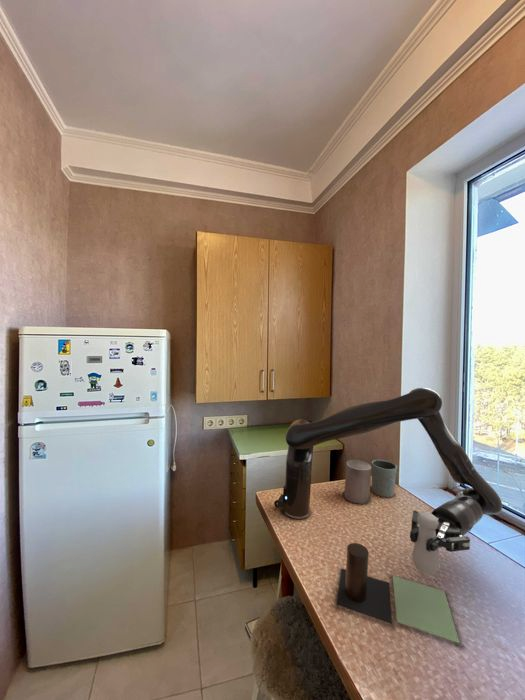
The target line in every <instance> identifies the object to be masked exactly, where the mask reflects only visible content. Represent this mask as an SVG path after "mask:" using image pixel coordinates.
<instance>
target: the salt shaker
mask: <svg viewBox="0 0 525 700" xmlns="http://www.w3.org/2000/svg"><path fill="white" fill-rule="evenodd" d="M431 513H432V512H429V511H420V512H418V517H417V521H418V523H419V525H420V526H419V531H418V537H417V541H416V542H415V543H414V545H413V549H412V553H411V558H412V560H413V564H414V567H415V569H416V570H417V571H419V572H420V573H421V574H422V575H425V576H431V577H432V576H433V575H434V574H435V573H436V572H437V571H438V570H439V569H440V565H441V560H440V554H439V553H440V552H439V548H438V549H437V550H435V551H431V552H429V551H427V550H426V543H427V541H428V540H429V539H431V538H432V539H433V538H435V536H436V532H435V529H437V527H438V519H437V518H436V517H435V516H434V515H433V514H431ZM436 537H437V536H436Z"/></svg>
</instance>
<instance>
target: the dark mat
mask: <svg viewBox="0 0 525 700" xmlns="http://www.w3.org/2000/svg"><path fill="white" fill-rule="evenodd" d="M345 580H346V568H340V576H339V582H338V583H339V584H338V591H337V597H336V606H340V607H342V608H345V609H348V610H351V611H354V612H356V613H359V614H362V615H365V616H368V617H371V618H374V619H376V620H378V621H382V622H385V623H388V624H391V625H392V624H393V619H392V602H391V591H390V590H391V589H390V582H387V581H384V580H381V579H377V578H374V577H371V576H368V575H367V591H366V599H365V601H363V602H360V603H359V602H354V601H352V600H350V599H349V598H348V597H347V595H346V593H345Z"/></svg>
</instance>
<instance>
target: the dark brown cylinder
mask: <svg viewBox="0 0 525 700" xmlns="http://www.w3.org/2000/svg"><path fill="white" fill-rule="evenodd" d="M369 556H370V554H369V549H368V548H367V547H366V546H365V545H363V544H361V543H357V542H352V543H349V544H348V545H347V546H346V564H345V570H346V580H345V593H346V595H347V597H348V598H349V599H350V600H352V601H354V602H359V603H360V602H363V601H365V599H366V591H367V576H368V571H369V570H368V569H369Z"/></svg>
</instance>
